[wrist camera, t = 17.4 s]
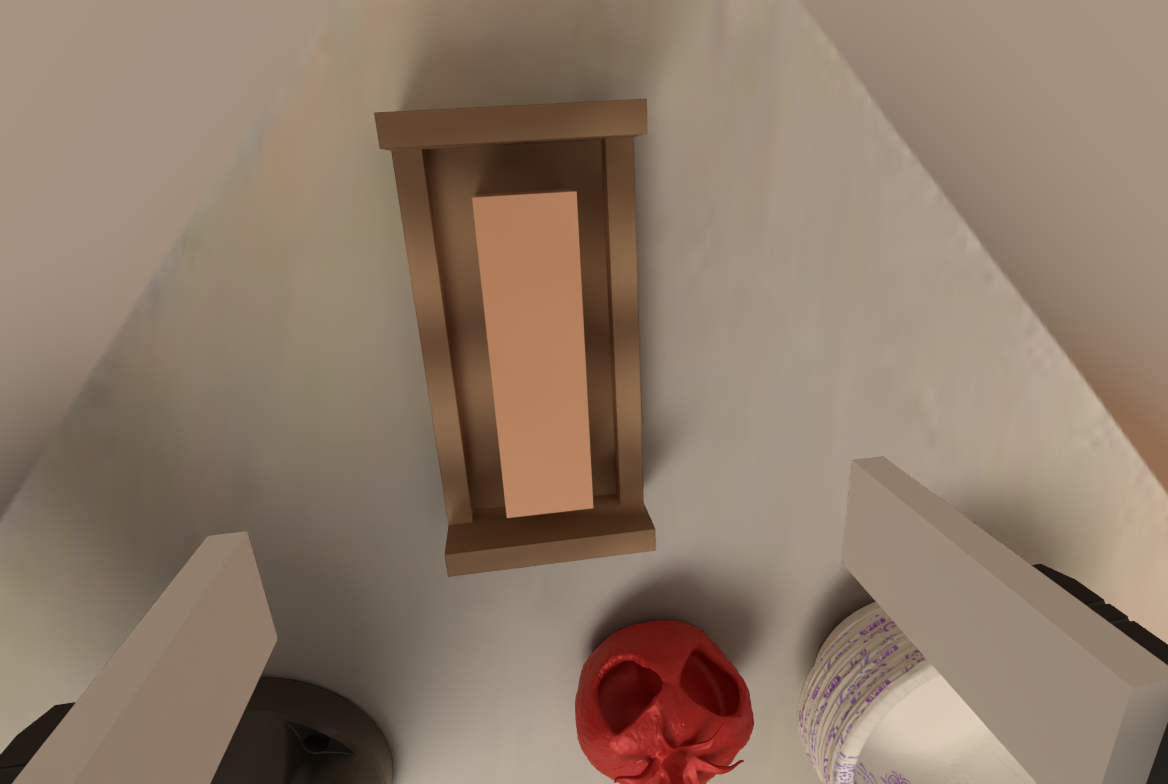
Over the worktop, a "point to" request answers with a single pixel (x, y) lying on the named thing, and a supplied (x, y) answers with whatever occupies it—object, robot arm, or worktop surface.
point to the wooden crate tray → (458, 329)
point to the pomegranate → (661, 706)
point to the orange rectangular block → (536, 347)
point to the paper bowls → (892, 714)
